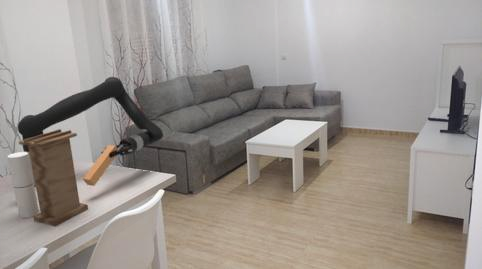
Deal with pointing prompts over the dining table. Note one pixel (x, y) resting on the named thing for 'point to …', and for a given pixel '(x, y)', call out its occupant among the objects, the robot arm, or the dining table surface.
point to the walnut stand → (54, 177)
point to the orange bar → (99, 166)
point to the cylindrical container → (23, 184)
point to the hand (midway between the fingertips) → (106, 154)
